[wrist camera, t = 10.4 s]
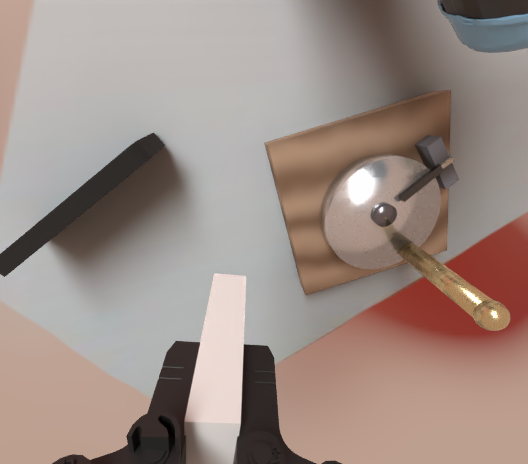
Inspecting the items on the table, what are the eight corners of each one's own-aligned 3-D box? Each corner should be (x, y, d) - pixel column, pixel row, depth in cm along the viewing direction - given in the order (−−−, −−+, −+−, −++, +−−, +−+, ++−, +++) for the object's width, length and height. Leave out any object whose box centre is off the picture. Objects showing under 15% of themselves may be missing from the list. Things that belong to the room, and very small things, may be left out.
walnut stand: (264, 142, 38) (272, 149, 33) (434, 91, 39) (469, 89, 33) (300, 284, 48) (311, 306, 43) (434, 241, 49) (460, 259, 44)
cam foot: (297, 208, 39) (356, 286, 23) (400, 121, 36) (553, 137, 20) (359, 279, 46) (439, 378, 29) (450, 209, 43) (595, 276, 26)
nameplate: (50, 239, 39) (0, 280, 30) (37, 229, 38) (-18, 268, 29) (166, 144, 36) (149, 158, 27) (155, 131, 36) (134, 141, 27)
